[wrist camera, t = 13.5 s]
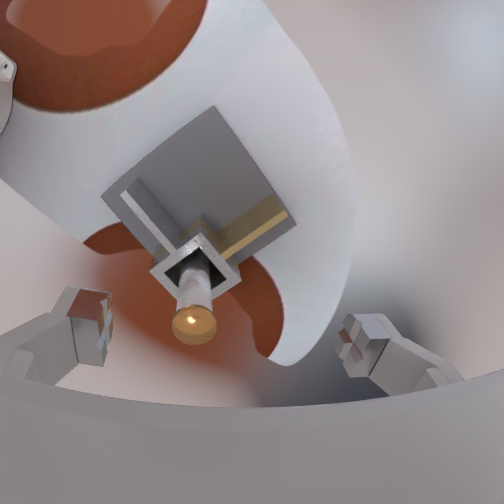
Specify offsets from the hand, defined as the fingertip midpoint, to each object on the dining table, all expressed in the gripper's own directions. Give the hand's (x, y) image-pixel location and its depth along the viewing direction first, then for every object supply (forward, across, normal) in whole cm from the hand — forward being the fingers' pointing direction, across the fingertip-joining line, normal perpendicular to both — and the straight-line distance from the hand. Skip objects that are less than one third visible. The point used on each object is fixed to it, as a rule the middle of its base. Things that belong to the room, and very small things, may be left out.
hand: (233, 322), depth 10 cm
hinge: (+36, 0, +7) cm, 37 cm away
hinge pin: (+36, 0, +14) cm, 39 cm away
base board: (+38, 0, +8) cm, 38 cm away
